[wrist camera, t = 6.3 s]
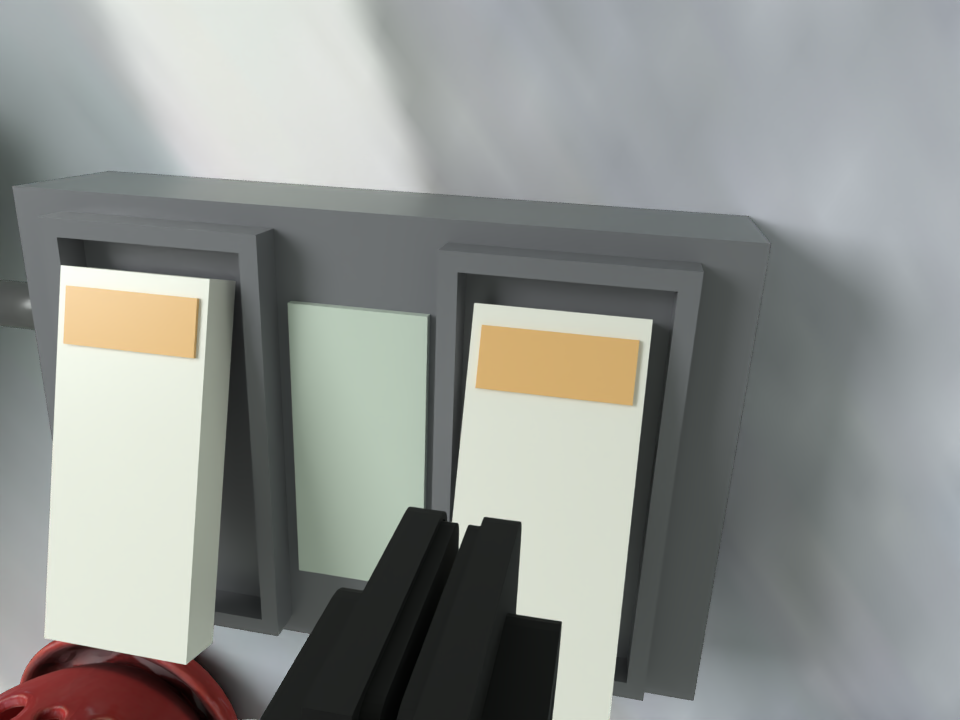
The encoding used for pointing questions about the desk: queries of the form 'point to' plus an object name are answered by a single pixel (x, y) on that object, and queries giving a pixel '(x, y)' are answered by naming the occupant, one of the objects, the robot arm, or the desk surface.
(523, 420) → the rocker
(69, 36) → the desk surface
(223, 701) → the plant pot
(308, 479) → the panel
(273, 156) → the desk surface
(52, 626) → the plate
